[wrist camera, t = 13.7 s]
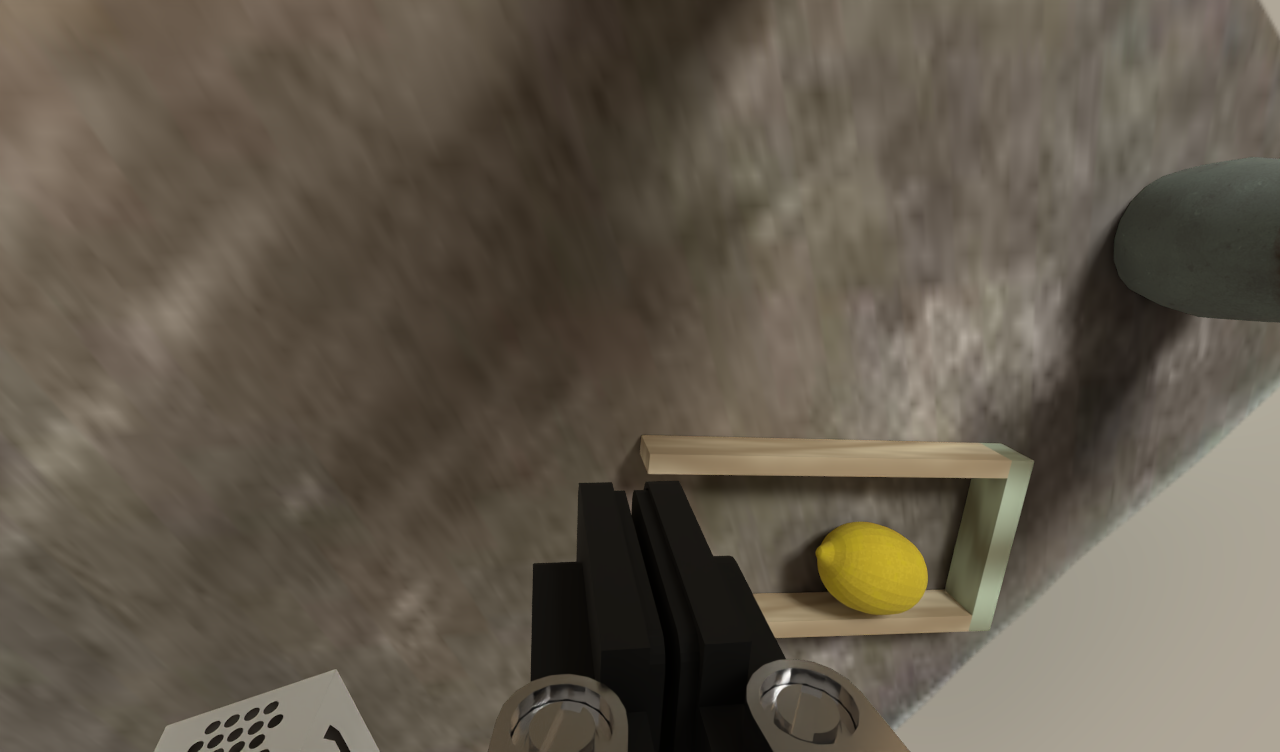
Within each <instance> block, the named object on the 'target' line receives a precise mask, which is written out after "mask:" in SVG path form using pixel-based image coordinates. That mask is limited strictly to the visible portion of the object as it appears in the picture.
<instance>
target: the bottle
mask: <svg viewBox="0 0 1280 752" xmlns="http://www.w3.org/2000/svg"><path fill="white" fill-rule="evenodd" d="M1114 262H1115V265H1116V268H1117V272H1118V275H1119V277H1120V278H1121V279H1122V281H1123V282H1124V283H1125V285H1126V286H1127V287H1128V288H1129V289H1130V290H1132V291H1134V292H1136V293H1138V294H1140V295H1142V296H1144V297H1146V298H1147V299H1149V300H1151V301H1153V302H1155V303H1157V304H1159V305H1161V306H1165V307H1168V308H1171V309H1174V310H1178V311H1181V312H1184V313H1188V314H1191V315H1194V316H1197V317H1207V318H1218V319H1233V320H1247V321H1261V322H1280V159H1276V158H1258V157H1250V158H1244V159H1237V160H1231V161H1225V162H1219V163H1212V164H1206V165H1202V166H1197V167H1193V168H1189V169H1185V170H1182V171H1179V172H1175V173H1172V174H1169V175H1166V176H1163V177H1161V178H1160V179H1158V180H1156V181H1154V182H1153V183H1151V184H1149V185H1148V186H1146V187H1145V188H1144V189H1143V190H1142V191H1141V192H1140V193H1139V194H1138V195H1137V196H1136V197H1135V198H1134V199H1133V200H1132V201H1131V203H1130V204H1129V206H1128V208H1127V209H1126V211H1125V213H1124V215H1123V216H1122V218H1121V220H1120V222H1119V226H1118V229H1117V232H1116V236H1115V239H1114Z"/></svg>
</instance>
